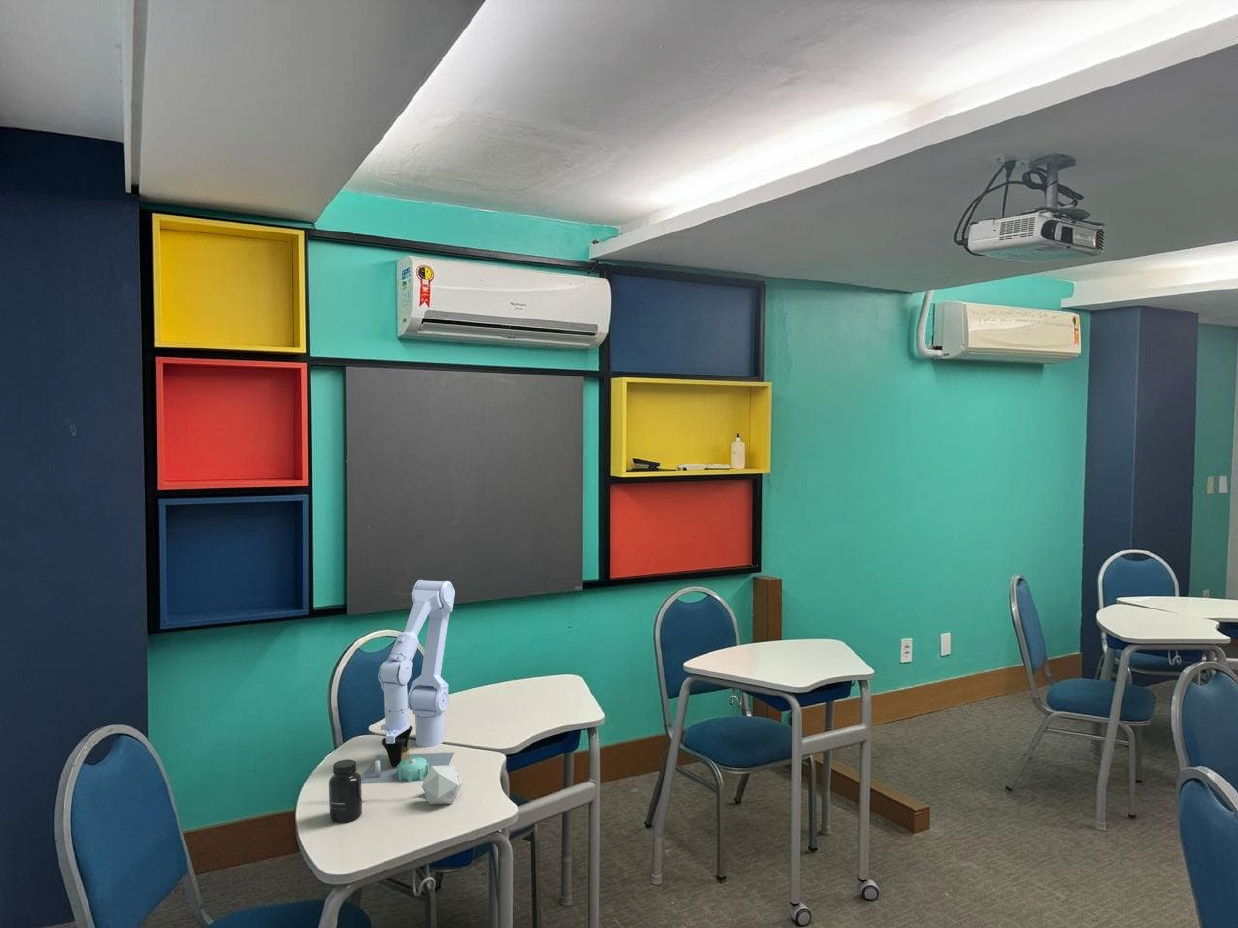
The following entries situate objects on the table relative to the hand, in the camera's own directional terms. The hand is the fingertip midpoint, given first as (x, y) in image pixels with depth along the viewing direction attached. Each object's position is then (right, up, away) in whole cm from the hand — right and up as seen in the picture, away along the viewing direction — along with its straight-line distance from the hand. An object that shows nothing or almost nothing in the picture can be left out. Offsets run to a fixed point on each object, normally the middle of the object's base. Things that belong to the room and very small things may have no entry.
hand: (398, 761), depth 210 cm
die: (+15, -2, -20) cm, 25 cm away
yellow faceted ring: (0, 0, 0) cm, 0 cm away
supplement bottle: (-5, -3, -26) cm, 27 cm away
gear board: (+3, -1, -3) cm, 4 cm away
